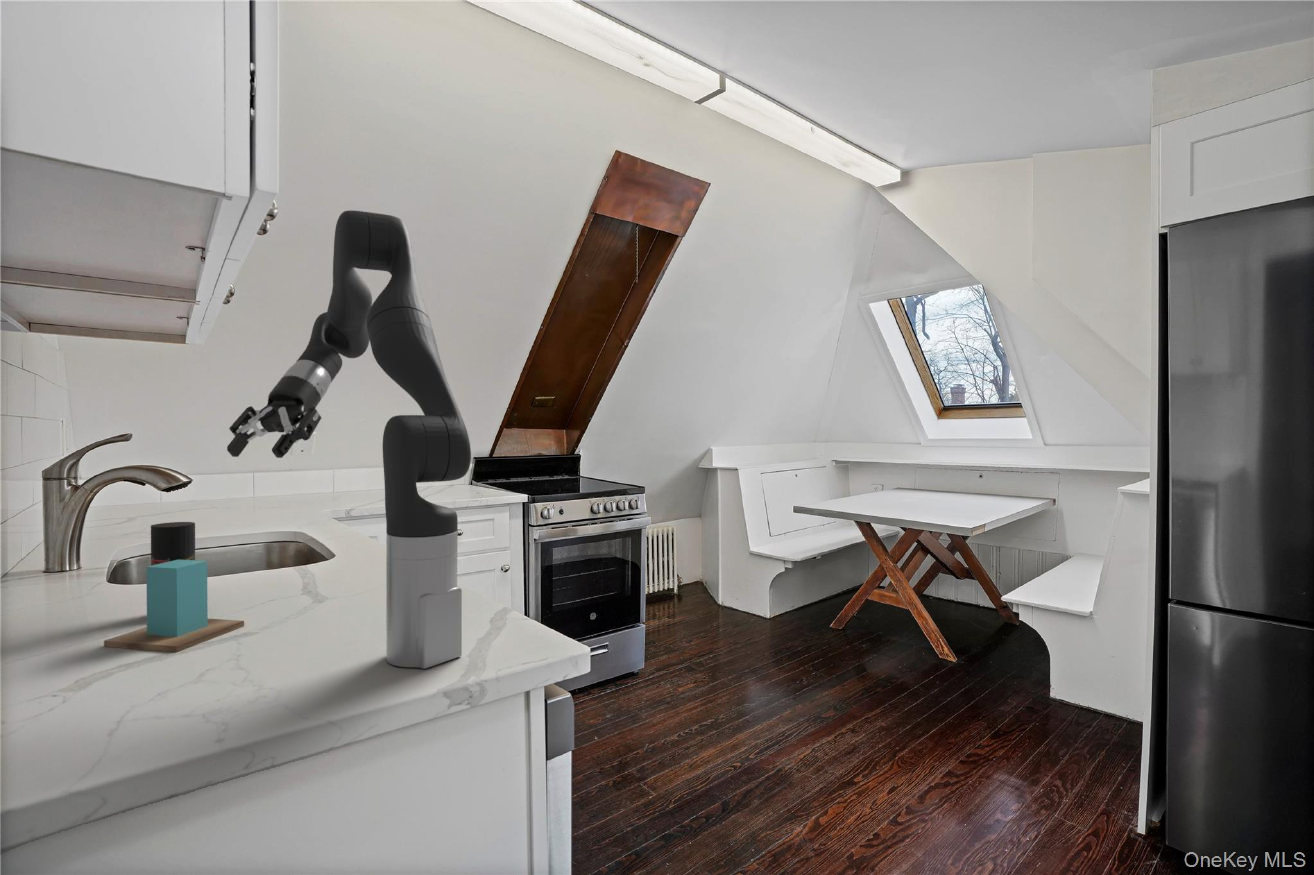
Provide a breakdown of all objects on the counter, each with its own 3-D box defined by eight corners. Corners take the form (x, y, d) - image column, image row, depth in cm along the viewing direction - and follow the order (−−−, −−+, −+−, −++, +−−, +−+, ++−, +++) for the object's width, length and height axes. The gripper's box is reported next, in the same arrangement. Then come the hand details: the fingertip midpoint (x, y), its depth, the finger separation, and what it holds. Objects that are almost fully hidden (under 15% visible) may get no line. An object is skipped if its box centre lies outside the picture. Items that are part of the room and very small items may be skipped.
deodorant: (158, 621, 105) (157, 528, 105) (146, 615, 109) (145, 524, 109) (201, 613, 110) (200, 524, 110) (187, 607, 114) (187, 520, 113)
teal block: (207, 626, 101) (207, 561, 101) (177, 636, 96) (176, 568, 96) (178, 623, 102) (178, 559, 102) (147, 634, 97) (146, 566, 96)
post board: (244, 625, 104) (243, 576, 103) (176, 651, 92) (176, 596, 92) (178, 621, 106) (177, 573, 105) (103, 646, 94) (103, 591, 94)
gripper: (256, 374, 121) (203, 438, 110) (326, 374, 118) (279, 439, 107) (277, 404, 126) (229, 468, 115) (345, 404, 124) (302, 469, 113)
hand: (253, 454), depth 111 cm, fingers open, 8 cm apart
